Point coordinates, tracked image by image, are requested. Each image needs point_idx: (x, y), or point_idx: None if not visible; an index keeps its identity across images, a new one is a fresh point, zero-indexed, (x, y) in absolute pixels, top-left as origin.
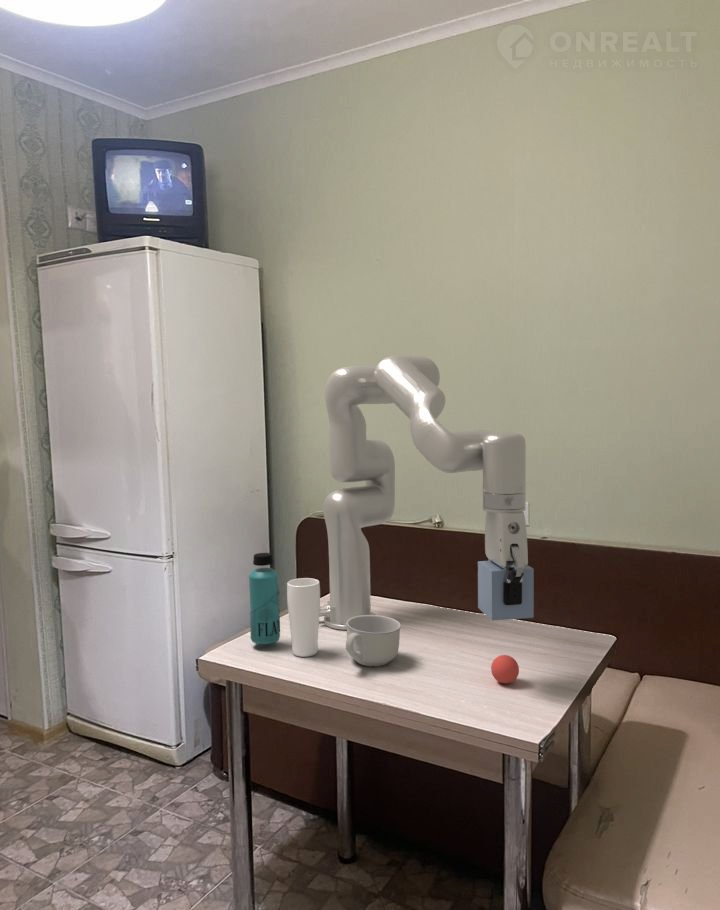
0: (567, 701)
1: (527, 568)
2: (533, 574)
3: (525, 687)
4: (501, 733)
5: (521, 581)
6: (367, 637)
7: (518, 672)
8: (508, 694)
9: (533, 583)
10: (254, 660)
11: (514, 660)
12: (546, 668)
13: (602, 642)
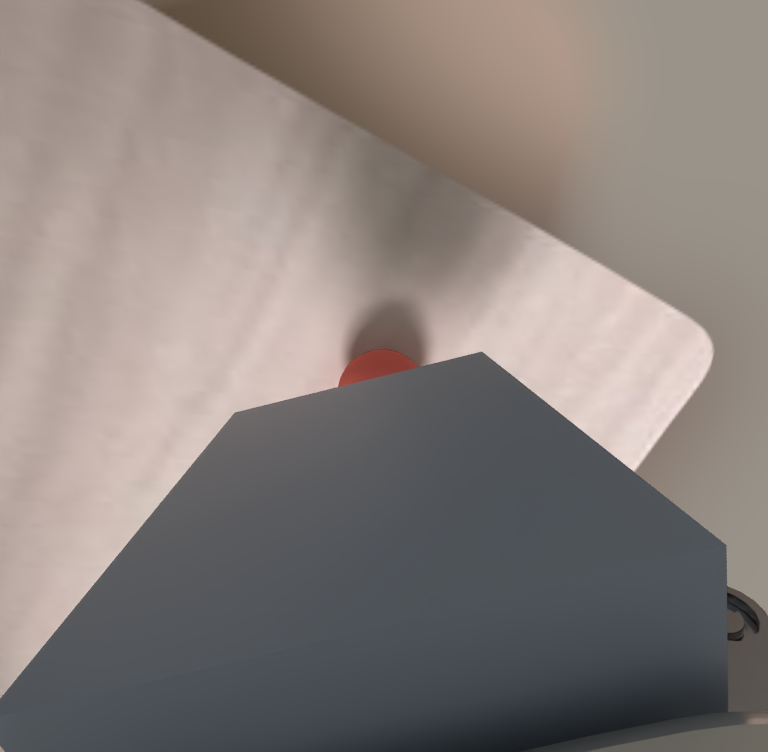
0: (511, 217)
1: (676, 629)
2: (656, 493)
3: (412, 326)
4: (673, 417)
5: (741, 602)
6: None
7: (397, 352)
8: None
9: (589, 438)
10: None
11: (390, 373)
12: (253, 234)
13: None
